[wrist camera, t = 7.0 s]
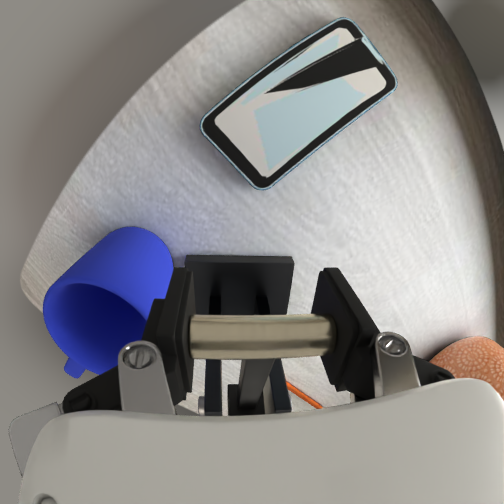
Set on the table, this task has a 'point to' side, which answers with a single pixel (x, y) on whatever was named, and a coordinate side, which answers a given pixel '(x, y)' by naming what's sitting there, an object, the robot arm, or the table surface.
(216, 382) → the bracket
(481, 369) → the planter
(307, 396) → the pencil
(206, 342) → the lever
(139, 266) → the mug
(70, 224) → the table surface
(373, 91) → the smartphone
